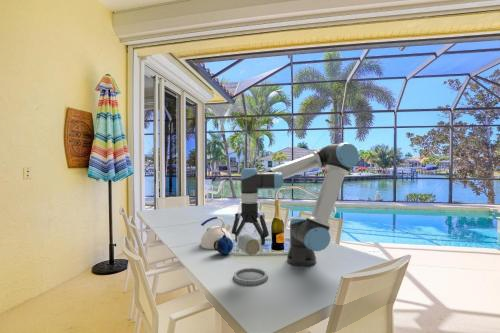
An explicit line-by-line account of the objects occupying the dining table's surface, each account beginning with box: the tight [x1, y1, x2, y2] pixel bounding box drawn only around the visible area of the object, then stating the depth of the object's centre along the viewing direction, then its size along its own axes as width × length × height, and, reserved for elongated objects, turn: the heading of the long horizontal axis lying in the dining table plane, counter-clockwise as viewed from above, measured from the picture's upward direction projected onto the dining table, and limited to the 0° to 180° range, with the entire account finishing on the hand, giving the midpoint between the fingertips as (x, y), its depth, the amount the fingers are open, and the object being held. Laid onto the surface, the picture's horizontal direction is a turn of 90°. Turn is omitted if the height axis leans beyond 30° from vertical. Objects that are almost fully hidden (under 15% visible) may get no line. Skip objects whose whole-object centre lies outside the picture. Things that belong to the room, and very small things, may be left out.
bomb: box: [213, 228, 234, 255], centre depth 160 cm, size 10×11×15 cm
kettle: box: [200, 216, 233, 250], centre depth 180 cm, size 20×21×18 cm
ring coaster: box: [232, 267, 269, 286], centre depth 127 cm, size 16×16×2 cm
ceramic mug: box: [239, 234, 259, 256], centre depth 127 cm, size 11×8×8 cm
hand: (249, 250), depth 127 cm, fingers closed on ceramic mug, 10 cm apart
